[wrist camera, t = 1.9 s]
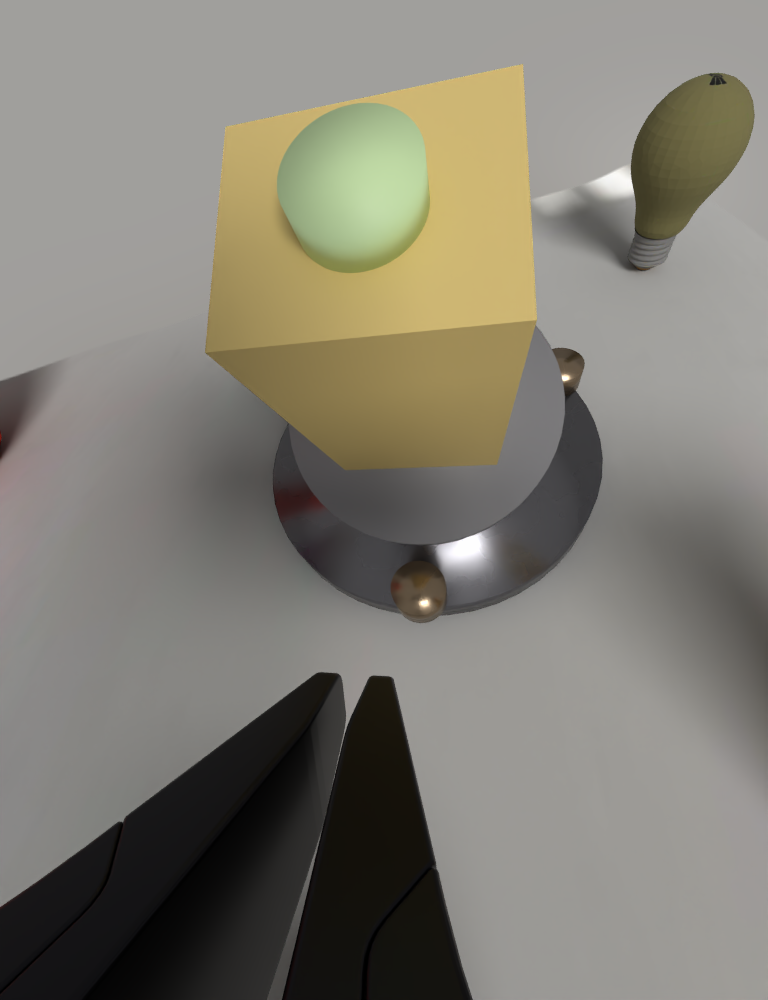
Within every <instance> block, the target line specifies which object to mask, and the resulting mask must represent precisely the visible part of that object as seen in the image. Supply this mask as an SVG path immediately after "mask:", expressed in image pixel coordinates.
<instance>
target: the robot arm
mask: <svg viewBox="0 0 768 1000" xmlns="http://www.w3.org/2000/svg"><path fill="white" fill-rule="evenodd" d="M345 723H346V710H345V701H344V692H343V683H342V678H341V676H340V675H339V674H337V673H324V672H319V673H316V674H315V675H313V676H312V677H311V678H309V679H308V680H307V681H305V682H304V683H303V684H301V685H300V686H299V687H297V688H296V689H295V690H293V691H292V692H291V693H289V694H288V695H287V696H285V697H284V698H283V699H281V700H280V701H279V702H277V703H276V704H275V705H273V706H272V707H271V708H269V709H268V710H267V711H265V712H264V713H263V714H261V715H260V716H259V717H257V718H256V719H255V720H253V721H252V722H251V723H249V724H248V725H247V726H245V727H244V728H243V729H241V730H240V731H239V732H238V733H236V734H235V735H234V736H232V737H231V738H230V739H228V740H227V741H226V742H224V743H223V744H222V745H220V746H219V747H218V748H216V749H215V750H214V751H212V752H211V753H210V754H208V755H207V756H206V757H204V758H203V759H202V760H200V761H199V762H198V763H196V764H195V765H194V766H192V767H191V768H190V769H188V770H187V771H186V772H184V773H183V774H182V775H180V776H179V777H178V778H176V779H175V780H174V781H172V782H171V783H170V784H168V785H167V786H166V787H164V788H163V789H162V790H160V791H159V792H158V793H156V794H155V795H154V796H152V797H151V798H150V799H148V800H147V801H146V802H144V803H143V804H142V805H140V806H139V807H138V808H136V809H135V810H134V811H133V812H131V813H130V814H129V815H127V816H126V817H125V819H124V822H118V823H116V824H115V825H114V826H112V827H111V828H110V829H108V830H107V831H106V832H104V833H103V834H102V835H100V836H99V837H98V838H96V839H95V840H94V841H92V842H91V843H90V844H88V845H87V846H86V847H84V848H83V849H81V850H80V851H79V852H77V853H76V854H75V855H73V856H72V857H70V858H69V859H68V860H66V861H65V862H64V863H62V864H61V865H59V866H58V867H57V868H55V869H54V870H53V871H51V872H50V873H48V874H47V875H46V876H44V877H43V878H42V879H40V880H39V881H37V882H36V883H35V884H33V885H32V886H30V887H29V888H27V889H26V890H24V891H23V892H21V893H20V894H19V895H17V896H16V897H14V898H13V899H11V900H10V901H8V902H7V903H5V904H4V905H3V906H1V907H0V1000H267V997H268V994H269V991H270V988H271V984H272V981H273V978H274V975H275V972H276V969H277V966H278V963H279V960H280V957H281V954H282V951H283V948H284V945H285V941H286V938H287V935H288V932H289V929H290V926H291V923H292V920H293V917H294V914H295V911H296V908H297V905H298V901H299V898H300V895H301V892H302V889H303V886H304V883H305V880H306V877H307V874H308V871H309V868H310V865H311V862H312V858H313V855H314V852H315V849H316V846H317V843H318V840H319V837H320V833H321V830H322V833H321V837H320V841H319V845H318V850H317V854H316V858H315V862H314V867H313V871H312V875H311V879H310V884H309V888H308V892H307V896H306V900H305V905H304V909H303V913H302V917H301V922H300V926H299V930H298V934H297V939H296V943H295V947H294V951H293V955H292V960H291V964H290V968H289V972H288V977H287V981H286V985H285V989H284V994H283V998H282V1000H473V999H472V996H471V993H470V990H469V987H468V984H467V980H466V977H465V974H464V971H463V968H462V964H461V960H460V957H459V953H458V949H457V945H456V941H455V938H454V934H453V930H452V926H451V922H450V919H449V915H448V911H447V907H446V903H445V898H444V894H443V890H442V885H441V881H440V877H439V873H438V870H437V869H436V861H435V856H434V852H433V848H432V844H431V839H430V835H429V831H428V826H427V822H426V818H425V813H424V809H423V805H422V800H421V796H420V792H419V787H418V783H417V779H416V774H415V770H414V766H413V761H412V757H411V753H410V748H409V744H408V740H407V735H406V731H405V727H404V722H403V718H402V714H401V709H400V705H399V701H398V696H397V692H396V688H395V683H394V680H393V678H392V677H389V676H371V677H369V679H368V681H367V683H366V685H365V687H364V690H363V692H362V694H361V696H360V698H359V701H358V703H357V705H356V707H355V709H354V712H353V714H352V716H351V718H350V721H349V723H348V726H347V729H346V732H345V736H344V740H343V744H342V748H341V752H340V747H341V743H342V738H343V734H344V729H345ZM339 752H340V757H339V761H338V756H339ZM337 761H338V765H337ZM336 766H337V769H336ZM335 770H336V773H335ZM334 775H335V778H334ZM333 779H334V782H333ZM332 784H333V786H332ZM331 788H332V790H331ZM330 793H331V795H330ZM329 797H330V799H329ZM328 802H329V803H328ZM326 811H327V812H326ZM325 815H326V816H325ZM324 819H325V820H324ZM323 823H324V824H323ZM322 827H323V828H322Z"/></svg>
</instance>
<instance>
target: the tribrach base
mask: <svg viewBox="0 0 768 1000" xmlns="http://www.w3.org/2000/svg"><path fill="white" fill-rule="evenodd" d="M552 351H553V353H554V355H555V357H556V359H557V362H558V365H559V369H560V372H561V375H562V379H563V386H564V393H565V416H564V423H563V429H562V434H561V437H560V441H559V444H558V447H557V450H556V453H555V455H554V457H553V459H552V461H551V463H550V466H549V468H548V469H547V471H546V472H545V474H544V476H543V477H542V479H541V480H540V482H539V483H538V485H537V486H536V487H535V488H534V490H533V491H532V492H531V493H530V494H529V496H528V497H527V498H526V499H525V500H524V501H523V502H522V504H521V505H519V506H518V507H517V508H516V509H515V510H514V511H513V512H512V513H510V514H509V515H508V516H507V517H505V518H504V519H502V520H501V521H499V522H498V523H496V524H495V525H493V526H492V527H490V528H488V529H486V530H484V531H482V532H480V533H478V534H476V535H473V536H470V537H467V538H464V539H461V540H459V541H454V542H449V543H444V544H439V545H424V546H419V545H404V544H399V543H394V542H389V541H385V540H382V539H379V538H376V537H373V536H371V535H368V534H365V533H363V532H361V531H359V530H357V529H355V528H353V527H351V526H349V525H348V524H346V523H345V522H343V521H342V520H340V519H339V518H338V517H336V516H335V515H334V514H332V513H331V512H330V511H329V510H328V509H327V508H326V507H325V506H324V505H323V504H322V503H321V502H320V501H319V500H318V498H317V497H316V496H315V495H314V494H313V492H312V491H311V490H310V488H309V486H308V485H307V483H306V482H305V480H304V478H303V477H302V474H301V472H300V470H299V467H298V465H297V463H296V460H295V457H294V453H293V449H292V446H291V439H290V432H289V424H288V426H287V428H286V430H285V432H284V434H283V436H282V438H281V441H280V444H279V447H278V451H277V454H276V459H275V465H274V471H273V490H274V498H275V505H276V508H277V512H278V515H279V518H280V521H281V523H282V526H283V528H284V530H285V532H286V534H287V536H288V538H289V539H290V541H291V542H292V544H293V545H294V546H295V548H296V549H297V551H298V552H299V553H300V555H301V556H302V557H303V558H304V559H305V560H306V561H307V562H308V563H309V564H310V566H311V567H312V568H313V569H314V570H315V571H316V572H317V573H318V574H319V575H320V576H321V577H322V578H323V579H325V580H326V581H327V582H329V583H330V584H331V585H332V586H334V587H335V588H336V589H338V590H339V591H341V592H343V593H345V594H346V595H348V596H350V597H352V598H354V599H355V600H357V601H360V602H363V603H365V604H368V605H370V606H373V607H376V608H378V609H383V610H387V611H391V612H395V613H400V614H402V615H403V616H404V617H405V618H407V619H408V620H410V621H413V622H416V623H426V622H430V621H432V620H434V619H436V618H437V617H439V616H440V615H452V614H458V613H464V612H470V611H475V610H478V609H481V608H485V607H488V606H491V605H494V604H497V603H500V602H502V601H504V600H506V599H508V598H510V597H513V596H515V595H517V594H519V593H521V592H522V591H524V590H525V589H527V588H528V587H530V586H532V585H533V584H535V583H536V582H538V581H539V580H540V579H542V578H543V577H544V576H545V575H546V574H547V573H549V572H550V571H551V570H552V569H553V568H554V567H556V566H557V564H558V563H559V562H560V561H561V560H562V559H563V557H564V556H565V555H566V554H567V553H568V552H569V550H570V549H571V548H572V546H573V545H574V543H575V541H576V540H577V538H578V537H579V535H580V533H581V532H582V530H583V528H584V526H585V524H586V522H587V520H588V518H589V516H590V514H591V511H592V509H593V507H594V504H595V502H596V499H597V496H598V492H599V487H600V483H601V478H602V459H603V458H602V450H601V443H600V438H599V435H598V431H597V428H596V425H595V422H594V420H593V418H592V416H591V414H590V412H589V410H588V408H587V406H586V404H585V403H584V402H583V400H582V399H581V397H580V396H579V395H578V393H577V392H576V389H577V388H578V385H579V382H580V379H581V375H582V372H583V369H584V364H585V363H584V359H583V357H582V356H581V355H580V354H579V353H577V352H576V351H574V350H571V349H567V348H555V349H552Z"/></svg>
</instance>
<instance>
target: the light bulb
mask: <svg viewBox="0 0 768 1000" xmlns="http://www.w3.org/2000/svg"><path fill="white" fill-rule="evenodd" d="M753 124H754V106H753V100H752V97H751V95H750V93H749V90H748V89H747V88H746V87H745V85H744V84H743V83H742V82H741V81H740V80H738V79H737V78H735V77H734V76H730V75H727V74H723V73H710V74H705V75H701V76H698V77H696V78H693V79H691V80H689V81H686V82H685V83H683V84H682V85H680V86H679V87H677V88H676V89H674V90H673V91H672V92H670V93H669V94H668V95H667V96H666V97H665V98H664V99H663V100H662V101H661V102H660V103H659V104H658V105H657V106H656V107H655V108H654V110H653V111H652V112H651V113H650V115H649V116H648V118H647V119H646V121H645V123H644V125H643V126H642V128H641V130H640V132H639V134H638V136H637V139H636V141H635V144H634V149H633V153H632V161H631V177H632V184H633V189H634V194H635V201H636V214H635V235H634V238H633V243H632V245H631V248H630V250H629V254H628V259H629V261H630V262H631V263H633V264H634V265H635V266H636V267H637V268H638V269H639V270H648V269H650V268H652V267H654V266H657V265H660V264H662V263H663V262H664V261H665V260H666V258H667V256H668V253H669V251H670V248H671V246H672V243H673V241H674V239H675V237H676V235H677V234H678V233H679V232H681V231H682V230H683V228H684V227H685V226H686V225H687V224H688V222H689V220H690V219H691V217H692V216H693V214H694V213H695V211H696V210H697V209H698V208H699V206H700V205H701V204H702V203H703V202H704V201H705V200H706V199H707V198H708V197H709V196H710V195H711V194H712V193H713V191H714V190H715V189H716V188H717V187H718V186H719V185H720V184H721V183H722V182H723V181H724V180H725V179H726V178H727V177H728V175H729V174H730V173H731V172H732V170H733V169H734V168H735V166H736V165H737V163H738V162H739V160H740V158H741V157H742V155H743V153H744V151H745V149H746V147H747V145H748V143H749V139H750V136H751V133H752V129H753Z"/></svg>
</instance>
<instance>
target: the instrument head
mask: <svg viewBox="0 0 768 1000" xmlns="http://www.w3.org/2000/svg"><path fill="white" fill-rule="evenodd" d="M536 321H537V314H536V295H535V277H534V259H533V240H532V222H531V203H530V187H529V167H528V149H527V130H526V113H525V93H524V75H523V64H522V65H517V66H512V67H507V68H502V69H498V70H493V71H488V72H483V73H479V74H474V75H469V76H464V77H460V78H455V79H450V80H445V81H441V82H436V83H431V84H427V85H422V86H417V87H412V88H407V89H403V90H398V91H393V92H388V93H384V94H379V95H374V96H369V97H365V98H360V99H356V100H351V101H346V102H341V103H336V104H332V105H327V106H322V107H317V108H312V109H308V110H303V111H298V112H294V113H289V114H284V115H279V116H274V117H270V118H265V119H260V120H256V121H251V122H246V123H241V124H236V125H232V126H227V127H226V129H225V140H224V151H223V162H222V173H221V184H220V195H219V206H218V217H217V228H216V239H215V250H214V261H213V272H212V283H211V294H210V305H209V316H208V327H207V338H206V349H205V353H206V354H207V355H209V356H210V357H211V358H212V359H213V360H215V361H216V362H217V363H218V364H219V365H220V366H222V367H223V368H224V369H225V370H226V371H228V372H229V373H230V374H231V375H232V376H234V377H235V378H236V379H237V380H238V381H240V382H241V383H242V384H243V385H244V386H245V387H247V388H248V389H249V390H250V391H251V392H253V393H254V394H255V395H256V396H257V397H259V398H260V399H261V400H262V401H263V402H265V403H266V404H267V405H268V406H269V407H270V408H272V409H273V410H274V411H275V412H276V413H278V414H279V415H280V416H281V417H282V418H284V419H285V420H286V421H287V422H288V423H289V432H290V439H291V446H292V449H293V453H294V457H295V460H296V463H297V465H298V467H299V470H300V472H301V474H302V477H303V478H304V480H305V482H306V483H307V485H308V486H309V488H310V490H311V491H312V492H313V494H314V495H315V496H316V497H317V498H318V500H319V501H320V502H321V503H322V504H323V505H324V506H325V507H326V508H327V509H328V510H329V511H330V512H331V513H332V514H334V515H335V516H336V517H338V518H339V519H340V520H342V521H343V522H345V523H346V524H348V525H349V526H351V527H353V528H355V529H357V530H359V531H361V532H363V533H365V534H368V535H371V536H373V537H376V538H379V539H382V540H385V541H389V542H394V543H399V544H404V545H419V546H424V545H439V544H444V543H449V542H454V541H459V540H461V539H464V538H467V537H470V536H473V535H476V534H478V533H480V532H482V531H484V530H486V529H488V528H490V527H492V526H493V525H495V524H496V523H498V522H499V521H501V520H502V519H504V518H505V517H507V516H508V515H509V514H510V513H512V512H513V511H514V510H515V509H516V508H517V507H518V506H519V505H521V504H522V502H523V501H524V500H525V499H526V498H527V497H528V496H529V494H530V493H531V492H532V491H533V490H534V488H535V487H536V486H537V485H538V483H539V482H540V480H541V479H542V477H543V476H544V474H545V472H546V471H547V469H548V468H549V466H550V463H551V461H552V459H553V457H554V455H555V453H556V450H557V447H558V444H559V441H560V437H561V434H562V429H563V423H564V416H565V393H564V386H563V379H562V375H561V372H560V369H559V365H558V362H557V359H556V357H555V355H554V353H553V351H552V349H551V347H550V345H549V343H548V342H547V340H546V339H545V337H544V336H543V334H542V332H541V331H540V330H539V329H538V328H537V326H536Z"/></svg>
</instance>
